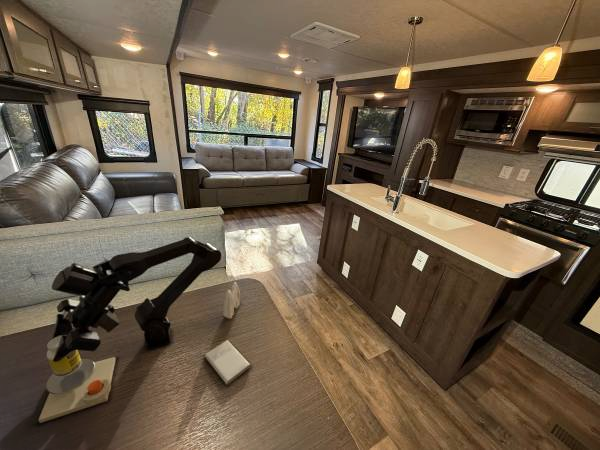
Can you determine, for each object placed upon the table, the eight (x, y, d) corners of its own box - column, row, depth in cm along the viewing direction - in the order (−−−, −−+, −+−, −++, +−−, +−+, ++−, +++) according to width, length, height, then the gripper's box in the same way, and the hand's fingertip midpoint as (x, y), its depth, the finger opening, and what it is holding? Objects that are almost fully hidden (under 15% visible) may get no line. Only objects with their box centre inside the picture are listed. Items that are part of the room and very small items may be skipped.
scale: (118, 358, 75) (116, 351, 74) (109, 402, 64) (107, 394, 63) (59, 375, 69) (56, 367, 68) (38, 425, 58) (34, 418, 57)
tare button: (103, 382, 66) (102, 378, 65) (101, 392, 63) (99, 388, 63) (90, 386, 64) (88, 382, 64) (87, 396, 62) (85, 392, 61)
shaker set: (231, 322, 92) (230, 298, 87) (220, 320, 92) (219, 297, 88) (241, 301, 103) (241, 279, 98) (232, 299, 103) (231, 277, 99)
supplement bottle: (76, 375, 64) (65, 348, 60) (50, 380, 62) (36, 352, 58) (86, 357, 68) (76, 331, 64) (61, 361, 67) (50, 334, 63)
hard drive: (226, 385, 70) (205, 357, 78) (250, 367, 76) (227, 342, 83) (226, 382, 70) (204, 353, 77) (250, 363, 75) (227, 339, 83)
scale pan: (98, 355, 72) (98, 354, 72) (90, 385, 64) (89, 384, 64) (55, 367, 68) (54, 365, 68) (40, 400, 60) (39, 399, 60)
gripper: (138, 324, 65) (96, 379, 62) (118, 290, 77) (82, 335, 73) (93, 316, 57) (42, 380, 54) (78, 279, 68) (35, 330, 65)
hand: (54, 353), depth 62 cm, fingers closed on supplement bottle, 5 cm apart
